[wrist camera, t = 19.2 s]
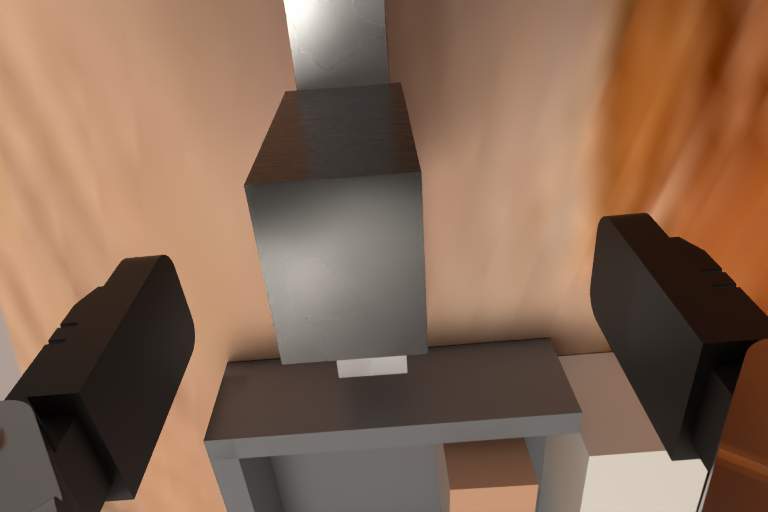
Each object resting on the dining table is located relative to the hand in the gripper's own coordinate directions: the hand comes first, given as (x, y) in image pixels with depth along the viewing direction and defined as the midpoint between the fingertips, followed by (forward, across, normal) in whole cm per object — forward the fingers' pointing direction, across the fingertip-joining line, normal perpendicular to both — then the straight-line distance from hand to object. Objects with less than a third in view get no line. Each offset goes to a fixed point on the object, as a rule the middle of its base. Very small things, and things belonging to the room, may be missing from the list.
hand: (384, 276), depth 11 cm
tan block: (+5, -4, +13) cm, 15 cm away
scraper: (+9, +1, 0) cm, 9 cm away
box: (+8, +1, +16) cm, 18 cm away
